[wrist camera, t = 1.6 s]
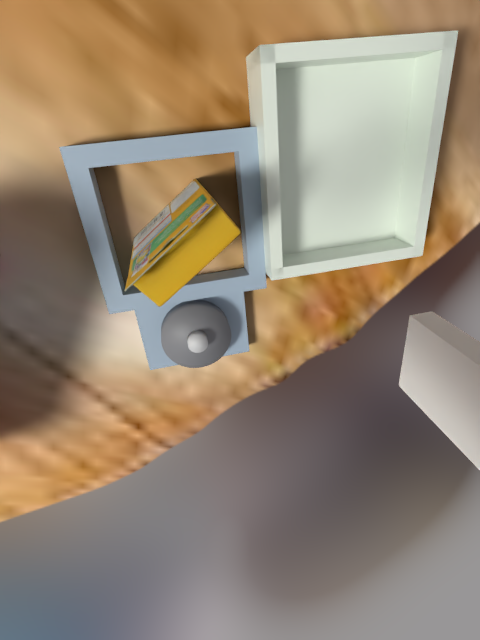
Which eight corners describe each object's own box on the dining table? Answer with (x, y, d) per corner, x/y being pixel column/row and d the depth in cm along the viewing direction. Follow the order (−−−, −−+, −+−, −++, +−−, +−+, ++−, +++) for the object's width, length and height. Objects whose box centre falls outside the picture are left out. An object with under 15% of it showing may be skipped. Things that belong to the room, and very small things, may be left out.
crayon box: (158, 262, 32) (159, 323, 21) (132, 238, 30) (119, 290, 20) (219, 205, 30) (250, 241, 20) (195, 177, 29) (215, 200, 19)
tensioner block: (65, 146, 26) (52, 148, 23) (250, 126, 28) (263, 126, 25) (130, 367, 36) (127, 390, 32) (265, 341, 38) (275, 361, 34)
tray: (246, 57, 26) (259, 44, 22) (420, 43, 28) (458, 30, 24) (260, 265, 34) (271, 280, 30) (396, 243, 35) (422, 255, 32)
